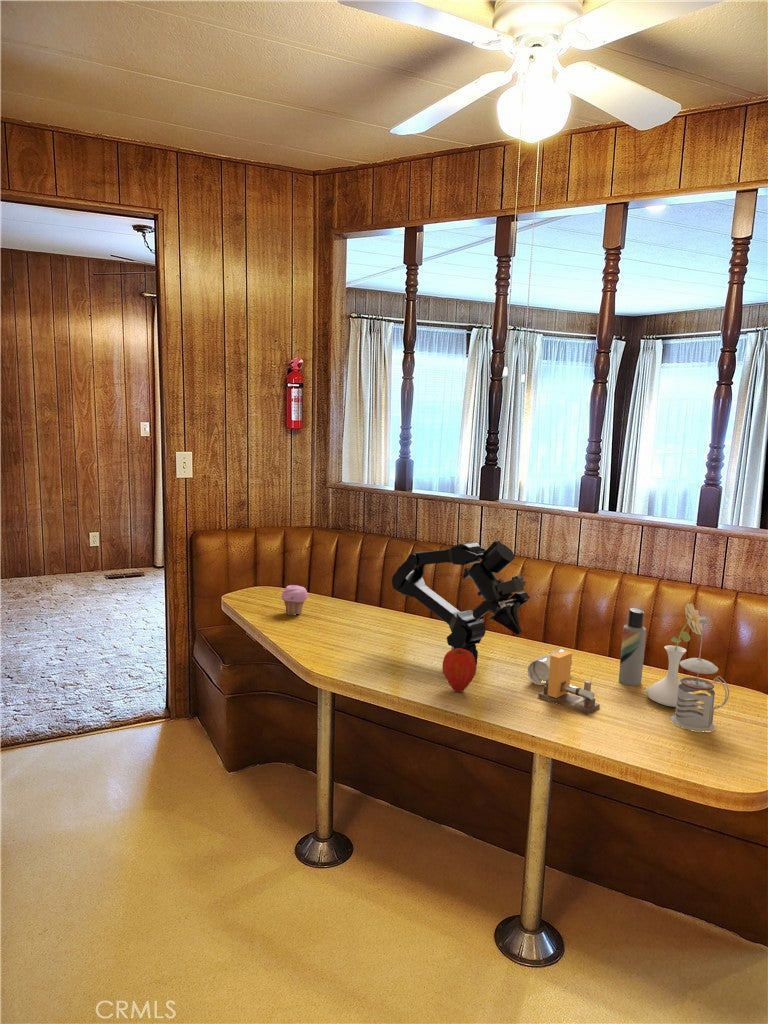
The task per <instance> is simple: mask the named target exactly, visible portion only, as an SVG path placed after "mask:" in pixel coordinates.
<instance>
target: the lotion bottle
mask: <svg viewBox="0 0 768 1024" xmlns="http://www.w3.org/2000/svg"><path fill="white" fill-rule="evenodd" d="M644 616H645V610H642V609H640V608H638V607H631V608H630V609H629V610H628V613H627V623H626V624H624V625H623V628H622V637H621V638H622V639H621V650H620V658H619V660H620V661H619V669H618V670H619V672H618V681H619V682H620V683H621V684H623V685H625V686H630V687H631V686H632V687H638V686H640V685H641V684H642V677H643V669H644V668H643V666H644V657H645V650H646V649H645V647H646V638H647V637H646V635H647V628H646V627H645V626H644V619H645V617H644Z"/></svg>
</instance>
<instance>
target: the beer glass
mask: <svg viewBox="0 0 768 1024" xmlns="http://www.w3.org/2000/svg"><path fill="white" fill-rule="evenodd" d="M561 651H566V650H565V649H559V648H558V649H555V650H553V651H552V653H550V654H549V653H548V654H543V655H541V656H538V657H537V658H535V659H534V660H532V661H531V662H530V663H529V664H528V666H527V675H528V678H529V680H530V681H531V682H532V683H533V684H534V685H537V686H546V683H541V681H542V680H543V681H546V679H547V678H549V669H550V657H551V655H553V654H556V653H558V652H561ZM572 660H573V659H572ZM572 660H571V665H572V663H573V661H572Z"/></svg>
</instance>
